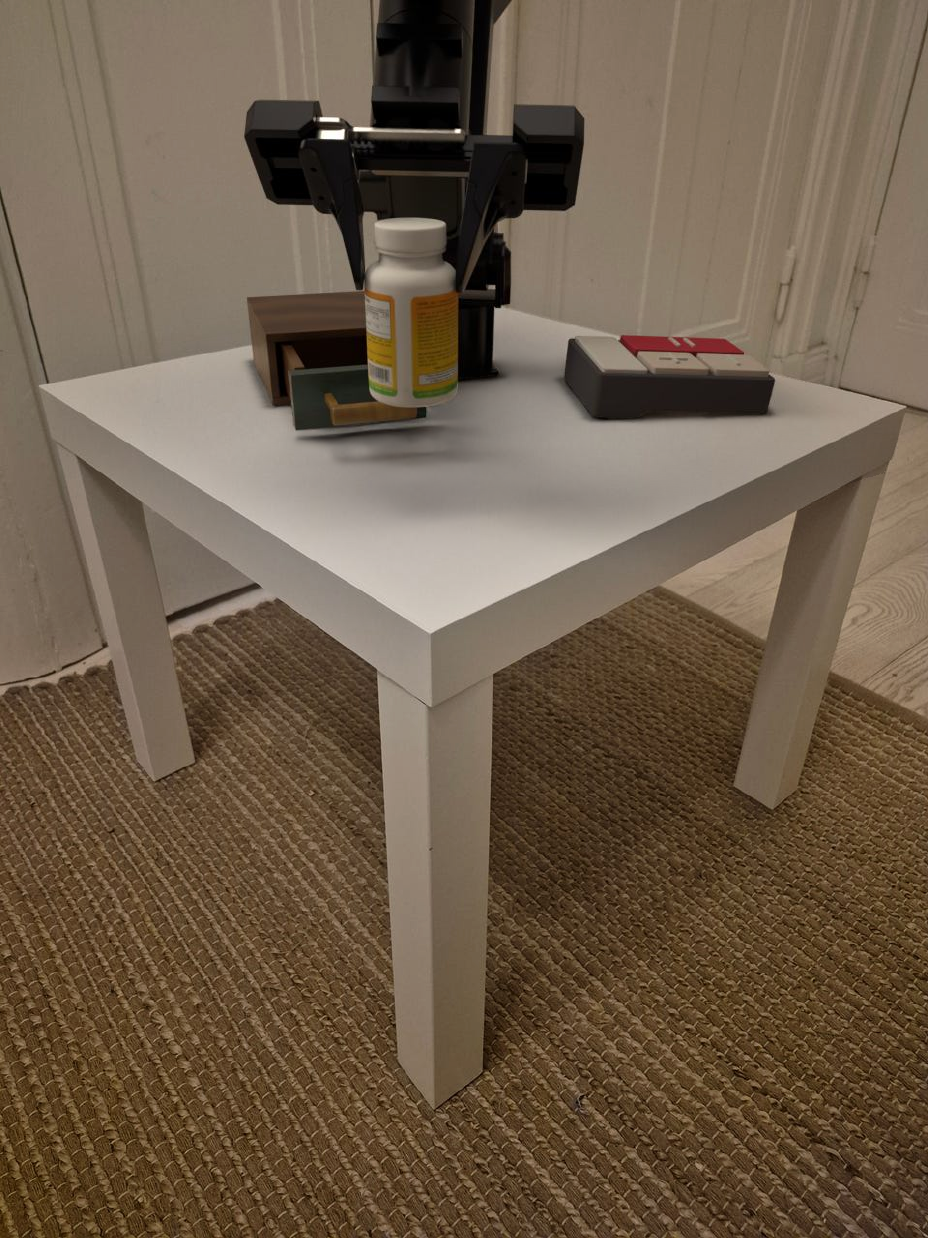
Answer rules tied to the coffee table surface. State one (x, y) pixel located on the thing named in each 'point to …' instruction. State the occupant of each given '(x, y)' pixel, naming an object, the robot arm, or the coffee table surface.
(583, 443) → the coffee table surface
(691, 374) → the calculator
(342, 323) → the cabinet
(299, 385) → the drawer
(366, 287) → the supplement bottle
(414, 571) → the coffee table surface
